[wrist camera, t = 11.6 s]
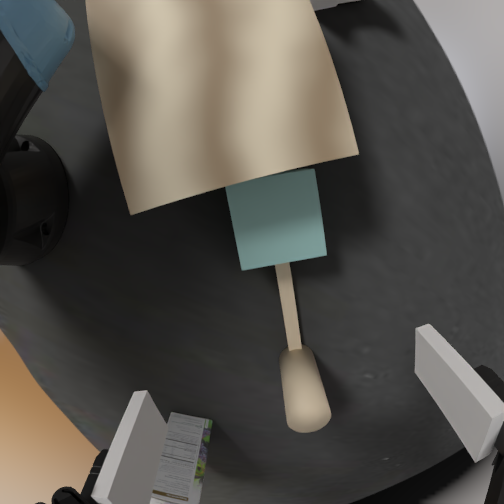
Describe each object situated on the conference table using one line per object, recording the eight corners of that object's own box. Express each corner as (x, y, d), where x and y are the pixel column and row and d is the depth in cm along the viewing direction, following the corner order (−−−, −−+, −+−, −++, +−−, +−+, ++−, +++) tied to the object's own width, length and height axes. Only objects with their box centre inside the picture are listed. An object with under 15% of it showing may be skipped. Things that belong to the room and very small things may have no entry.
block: (268, 377, 36) (273, 438, 26) (229, 181, 30) (219, 187, 20) (327, 366, 35) (347, 424, 26) (302, 168, 30) (326, 169, 20)
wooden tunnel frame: (175, 196, 30) (130, 215, 19) (135, 37, 26) (84, -14, 14) (318, 158, 29) (358, 154, 18) (268, -1, 25) (276, -71, 13)
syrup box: (207, 444, 39) (196, 527, 25) (166, 435, 39) (145, 516, 25) (213, 418, 38) (201, 509, 24) (168, 409, 37) (143, 496, 23)
